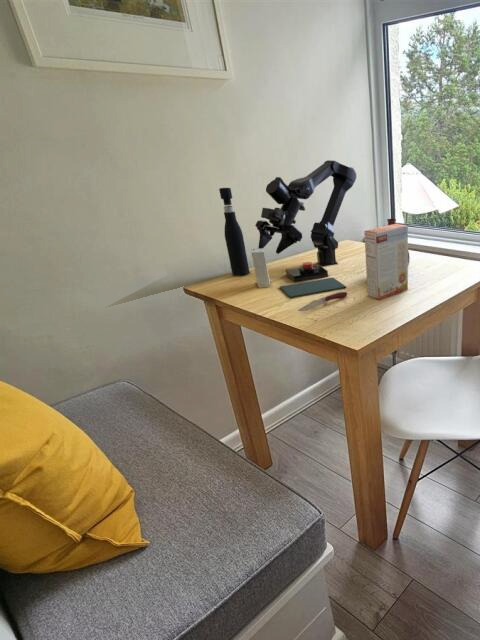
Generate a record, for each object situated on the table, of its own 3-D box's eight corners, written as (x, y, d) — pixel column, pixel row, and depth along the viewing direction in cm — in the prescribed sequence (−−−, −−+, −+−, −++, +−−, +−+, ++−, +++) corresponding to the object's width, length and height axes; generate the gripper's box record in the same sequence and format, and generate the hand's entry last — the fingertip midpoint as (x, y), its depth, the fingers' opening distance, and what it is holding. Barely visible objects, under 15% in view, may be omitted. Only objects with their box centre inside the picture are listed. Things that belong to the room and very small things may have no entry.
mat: (333, 279, 156) (332, 277, 155) (346, 288, 146) (346, 286, 146) (279, 288, 148) (279, 286, 147) (290, 298, 139) (290, 296, 138)
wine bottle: (234, 277, 159) (216, 190, 144) (231, 272, 164) (213, 188, 148) (251, 274, 162) (236, 188, 146) (247, 270, 167) (232, 186, 151)
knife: (345, 297, 139) (344, 288, 138) (348, 297, 139) (347, 289, 137) (297, 315, 126) (295, 306, 125) (299, 316, 125) (298, 307, 124)
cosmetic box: (270, 286, 149) (265, 251, 143) (257, 288, 148) (251, 253, 142) (269, 281, 154) (264, 247, 148) (256, 283, 153) (250, 248, 147)
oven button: (311, 266, 157) (310, 261, 157) (314, 268, 155) (314, 263, 154) (302, 267, 156) (301, 262, 155) (305, 269, 153) (304, 265, 152)
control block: (318, 270, 166) (317, 259, 163) (328, 277, 157) (328, 266, 155) (286, 275, 160) (284, 264, 158) (295, 282, 152) (293, 271, 150)
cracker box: (395, 285, 148) (395, 222, 137) (408, 289, 144) (409, 225, 133) (366, 295, 139) (363, 229, 129) (378, 300, 136) (377, 232, 125)
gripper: (255, 195, 148) (234, 234, 146) (291, 199, 138) (270, 241, 136) (275, 216, 157) (256, 252, 156) (311, 221, 148) (291, 260, 146)
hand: (268, 251), depth 148 cm, fingers open, 9 cm apart
